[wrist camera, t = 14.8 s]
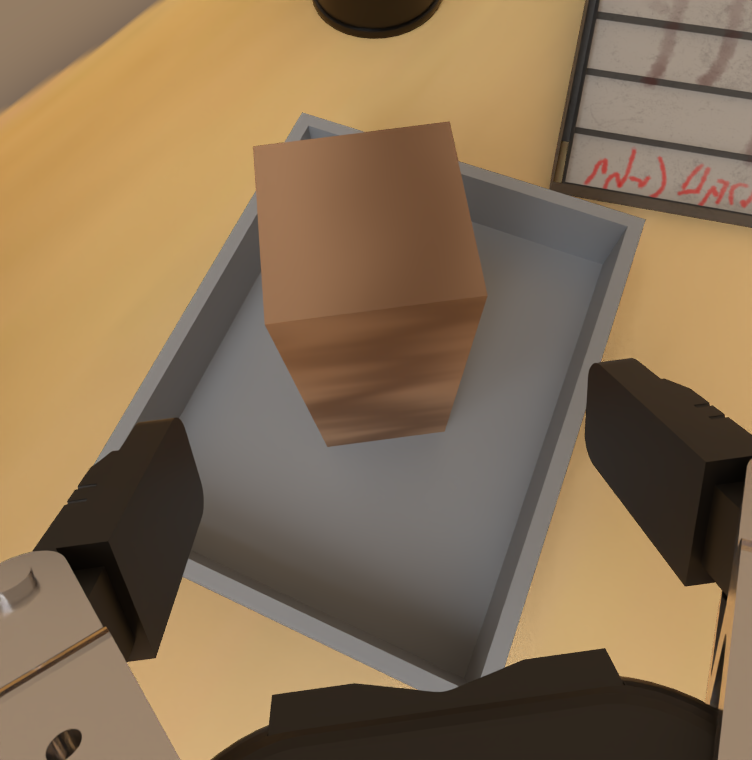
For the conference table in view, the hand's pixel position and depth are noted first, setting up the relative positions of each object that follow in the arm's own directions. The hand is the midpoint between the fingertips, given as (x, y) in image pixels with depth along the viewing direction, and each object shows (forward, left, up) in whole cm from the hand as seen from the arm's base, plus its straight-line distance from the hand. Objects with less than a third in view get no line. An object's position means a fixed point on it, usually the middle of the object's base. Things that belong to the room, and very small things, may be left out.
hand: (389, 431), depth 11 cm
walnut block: (-3, +5, -12) cm, 14 cm away
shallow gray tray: (-3, +5, -17) cm, 18 cm away
